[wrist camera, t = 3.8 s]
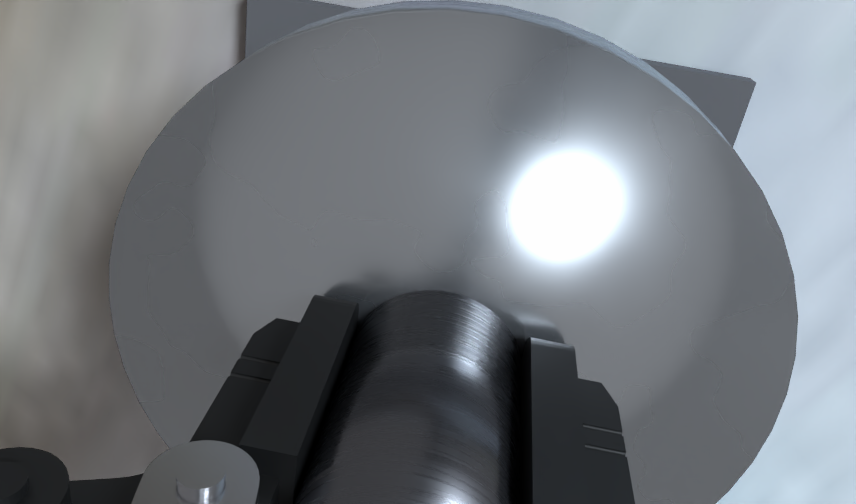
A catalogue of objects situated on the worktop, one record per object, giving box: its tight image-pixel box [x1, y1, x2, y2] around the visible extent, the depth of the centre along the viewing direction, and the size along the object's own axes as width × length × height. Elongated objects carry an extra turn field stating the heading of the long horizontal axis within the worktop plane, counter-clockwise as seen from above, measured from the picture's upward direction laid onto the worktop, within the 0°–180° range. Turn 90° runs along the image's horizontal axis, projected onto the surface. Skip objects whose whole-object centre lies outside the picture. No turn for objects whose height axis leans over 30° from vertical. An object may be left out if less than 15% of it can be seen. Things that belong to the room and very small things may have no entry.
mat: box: [245, 0, 756, 148], centre depth 16 cm, size 10×10×1 cm
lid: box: [109, 0, 798, 504], centre depth 10 cm, size 11×11×5 cm
